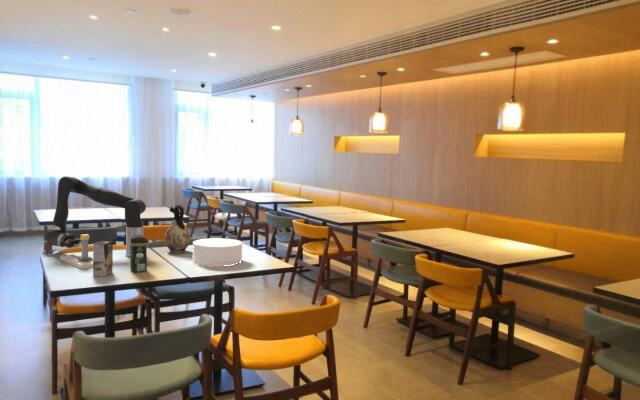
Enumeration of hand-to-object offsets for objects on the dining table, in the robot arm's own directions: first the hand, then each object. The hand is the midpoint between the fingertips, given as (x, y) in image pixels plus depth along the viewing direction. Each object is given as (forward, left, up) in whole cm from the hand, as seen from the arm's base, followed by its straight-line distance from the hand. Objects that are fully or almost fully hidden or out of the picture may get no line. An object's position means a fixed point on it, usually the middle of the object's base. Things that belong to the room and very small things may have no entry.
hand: (78, 244), depth 257 cm
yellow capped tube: (-6, +6, -7) cm, 11 cm away
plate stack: (-73, -12, -10) cm, 75 cm away
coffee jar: (-37, +15, -10) cm, 41 cm away
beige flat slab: (-2, +2, -9) cm, 10 cm away
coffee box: (-23, +25, -10) cm, 35 cm away
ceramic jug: (-45, -35, -10) cm, 58 cm away
